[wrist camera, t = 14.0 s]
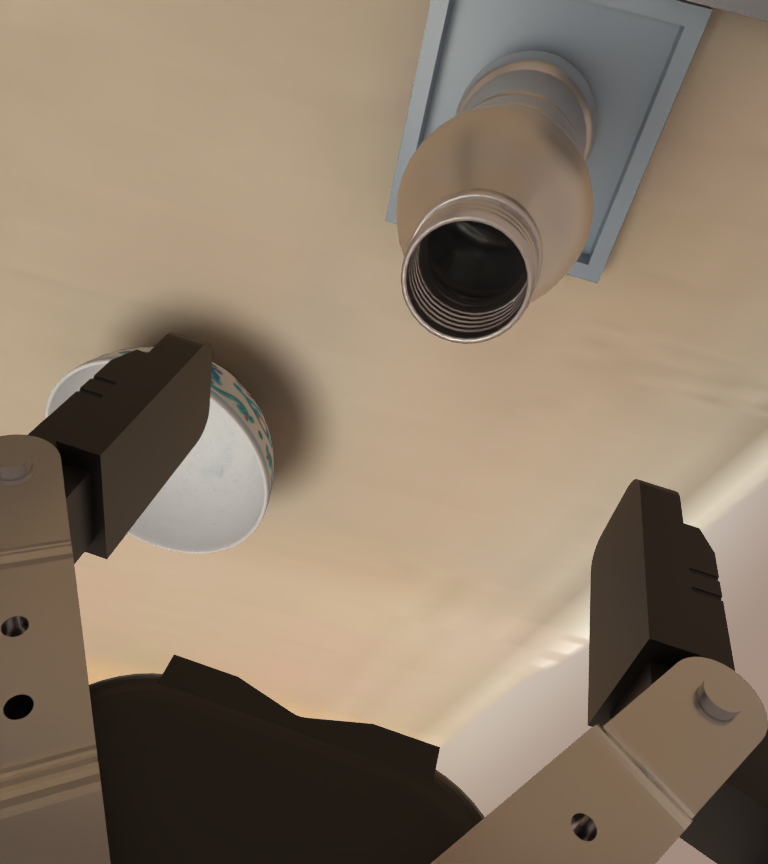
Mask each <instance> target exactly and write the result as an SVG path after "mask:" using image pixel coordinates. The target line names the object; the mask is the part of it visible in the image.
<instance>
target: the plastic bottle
mask: <svg viewBox="0 0 768 864" xmlns="http://www.w3.org/2000/svg"><path fill="white" fill-rule="evenodd" d="M596 132H597V111H596V105H595V99H594V97H593V94H592V92H591V89H590V87H589V85H588V83H587V82H586V80H585V79H584V77H583V76H582V74H581V73H580V72H579V71H578V70H577V69H576V68H575V67H574V66H573V65H572V64H571V63H569V62H568V61H566V60H564V59H563V58H561V57H559V56H557V55H554V54H551V53H548V52H544V51H533V50H526V51H520V52H514V53H511V54H508V55H506V56H503V57H501V58H498V59H497V60H495V61H494V62H492V63H491V64H489V65H488V66H486V67H485V68H484V69H483V70H482V71H481V72H480V73H479V74H478V75H477V76H475V77H474V79H473V80H472V82H471V83H470V84H469V86H468V87H467V89H466V90H465V92H464V94H463V96H462V98H461V100H460V102H459V105H458V108H457V112H456V115H455V117H453V118H451V119H450V120H448V121H447V122H445V123H443V124H442V125H441V126H440V127H438V128H437V129H436V130H435V131H434V132H433V133H431V134H430V135H429V136H428V137H427V138H426V139H425V140H424V141H423V142H422V143H421V145H420V146H419V147H418V149H417V150H416V152H415V153H414V154H413V156H412V157H411V158H410V160H409V163H408V165H407V167H406V169H405V171H404V173H403V176H402V178H401V182H400V186H399V190H398V194H397V206H396V220H397V227H398V235H399V242H400V245H401V248H402V251H403V254H404V261H403V264H402V273H401V285H402V293H403V296H404V299H405V302H406V305H407V307H408V308H409V310H410V312H411V314H412V315H413V317H414V318H415V319H416V320H417V321H418V322H419V324H420V325H421V326H423V327H424V328H425V329H426V330H428V331H429V332H430V333H432V334H434V335H436V336H437V337H439V338H442V339H445V340H448V341H451V342H456V343H463V344H468V343H479V342H484V341H488V340H491V339H493V338H495V337H497V336H500V335H501V334H503V333H504V332H506V331H507V330H509V329H510V328H511V327H512V326H513V325H514V324H515V323H516V322H517V321H518V320H519V319H520V317H521V316H522V314H523V313H524V311H525V310H526V308H527V307H528V304H529V303H530V302H532V301H535V300H536V299H538V298H539V297H540V296H542V295H543V294H545V293H546V292H548V291H549V290H550V289H552V288H553V287H554V286H555V285H556V284H557V283H558V282H559V281H560V280H561V279H562V278H563V277H564V276H565V275H566V274H567V273H568V272H569V271H570V270H571V268H572V267H573V265H574V264H575V262H576V261H577V259H578V258H579V256H580V255H581V253H582V250H583V248H584V246H585V243H586V241H587V239H588V237H589V232H590V228H591V223H592V219H593V191H592V186H591V180H590V175H589V170H588V167H587V165H586V162H587V161H588V158H589V156H590V154H591V151H592V149H593V146H594V142H595V137H596Z"/></svg>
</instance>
